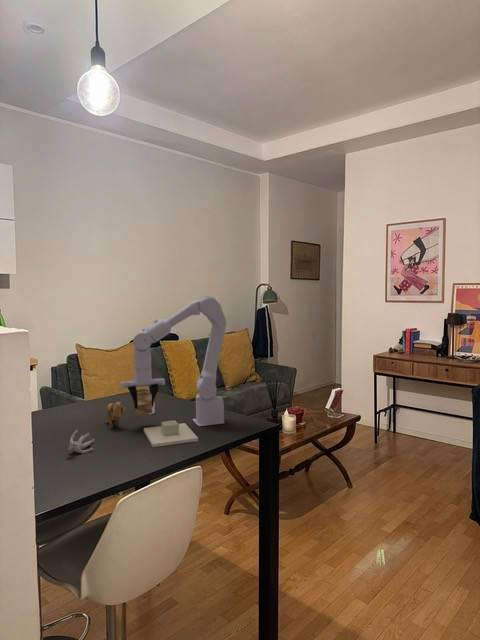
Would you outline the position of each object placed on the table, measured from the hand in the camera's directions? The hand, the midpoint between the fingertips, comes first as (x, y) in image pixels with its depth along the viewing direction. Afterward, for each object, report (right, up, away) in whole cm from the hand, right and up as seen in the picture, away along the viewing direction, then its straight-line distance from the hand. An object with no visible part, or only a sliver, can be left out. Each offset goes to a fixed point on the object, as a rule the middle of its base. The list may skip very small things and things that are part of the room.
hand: (143, 407), depth 155 cm
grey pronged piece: (-14, -9, -21) cm, 26 cm away
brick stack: (0, -2, 0) cm, 2 cm away
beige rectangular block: (-4, -6, +20) cm, 21 cm away
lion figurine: (-11, -7, +3) cm, 13 cm away
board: (+10, -7, -9) cm, 16 cm away
